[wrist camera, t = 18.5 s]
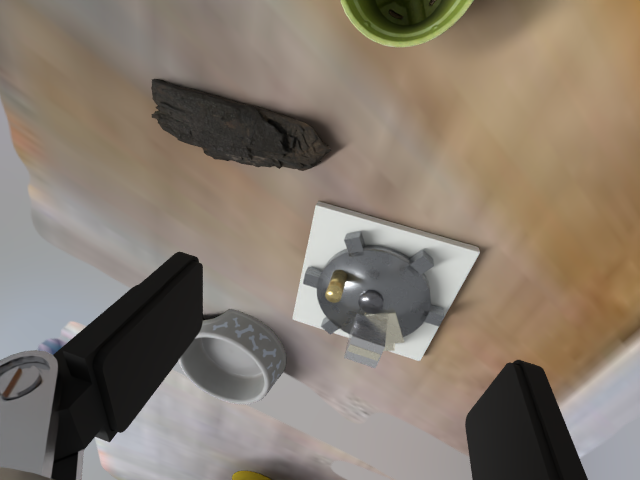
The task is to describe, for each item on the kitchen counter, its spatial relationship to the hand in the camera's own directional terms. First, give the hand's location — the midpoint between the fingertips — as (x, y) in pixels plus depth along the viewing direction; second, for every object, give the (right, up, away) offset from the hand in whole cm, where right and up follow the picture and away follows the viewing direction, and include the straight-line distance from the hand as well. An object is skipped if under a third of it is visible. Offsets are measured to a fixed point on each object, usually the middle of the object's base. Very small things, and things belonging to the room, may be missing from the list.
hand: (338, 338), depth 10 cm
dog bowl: (-15, -15, +47) cm, 52 cm away
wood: (-10, +16, +28) cm, 34 cm away
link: (+6, -9, +33) cm, 35 cm away
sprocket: (+6, -4, +32) cm, 33 cm away
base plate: (+6, -3, +33) cm, 34 cm away
